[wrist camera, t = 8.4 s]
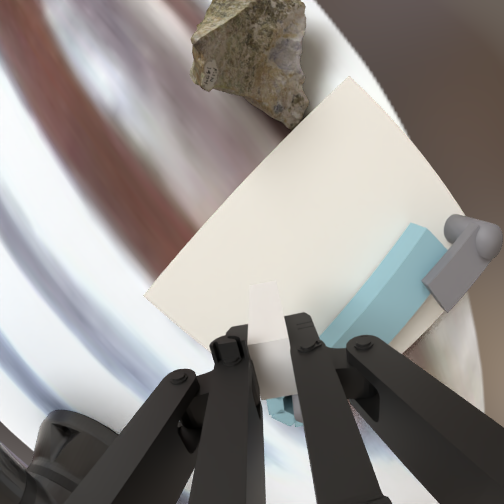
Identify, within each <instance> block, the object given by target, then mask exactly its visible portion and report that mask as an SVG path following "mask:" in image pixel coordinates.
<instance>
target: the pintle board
mask: <svg viewBox="0 0 504 504" xmlns="http://www.w3.org/2000/svg"><path fill="white" fill-rule="evenodd" d="M410 223H414V224H417V225H420V226H422V227H425V228H427V229H428V230H429V231H430V232H431V233H432V234H433V235H434V236H435V237H436V238H437V239H438V240H439V241H440V242H441V243H442V244H443V246H444V247H445V248H446V249H447V252H446V253H445V254H444V255H443V256H442V258H441V259H440V260H439V261H438V262H437V263H436V264H435V266H434V267H433V268H432V269H431V270H430V271H429V272H428V273H427V275H426V276H425V277H424V278H423V279H422V280H421V281H422V283H423V284H424V285H425V287H426V288H427V289H428V291H429V292H430V295H429V296H428V297H427V299H426V300H425V301H424V302H423V304H422V305H421V306H420V308H419V309H418V310H417V311H416V312H415V314H414V315H413V316H412V317H411V319H410V320H409V321H408V322H407V323H406V325H405V326H404V327H403V328H402V329H401V330H400V332H399V333H398V334H397V335H396V336H395V337H394V338H393V339H392V341H391V342H390V343H389V344H388V345H390V346H391V347H392V348H394V349H395V350H397V351H398V352H399V353H401V354H402V353H403V352H404V351H405V350H406V349H407V348H409V347H410V346H411V345H412V344H413V343H414V342H415V341H416V340H417V339H418V338H419V337H420V336H421V335H422V334H423V333H424V332H425V331H426V330H427V329H428V328H429V327H430V326H431V325H432V324H433V323H434V322H435V321H436V320H437V319H438V318H439V317H440V315H441V314H442V313H443V312H444V311H446V312H447V313H448V312H449V311H450V310H451V309H452V308H453V307H454V306H455V304H456V303H457V302H458V301H459V300H460V299H461V298H462V296H463V295H464V294H465V293H466V292H467V291H468V289H469V288H470V287H471V286H472V285H473V283H474V282H475V281H476V280H477V278H478V277H479V276H480V275H481V273H482V272H483V271H484V269H485V268H486V267H487V266H488V264H489V263H490V262H491V260H492V259H493V258H495V257H496V256H497V255H498V253H499V252H500V250H501V247H502V242H503V235H502V231H501V229H500V227H499V226H498V225H495V224H492V223H489V222H485V221H481V220H478V219H474V218H470V217H466V216H465V215H464V213H463V211H462V210H461V208H460V207H459V205H458V204H457V202H456V201H455V199H454V198H453V196H452V195H451V193H450V192H449V190H448V189H447V188H446V186H445V185H444V184H443V182H442V180H441V179H440V178H439V176H438V175H437V174H436V172H435V171H434V170H433V168H432V167H431V166H430V164H429V163H428V162H427V160H426V159H425V158H424V157H423V155H422V154H421V153H420V151H419V150H418V149H417V148H416V147H415V145H414V144H413V143H412V142H411V140H410V139H409V138H408V137H407V136H406V134H405V133H404V132H403V131H402V130H401V129H400V128H399V126H398V125H397V124H396V123H395V122H394V121H393V120H392V119H391V117H390V116H389V115H388V114H387V113H386V112H385V111H384V110H383V109H382V108H381V107H380V106H379V105H378V104H377V103H376V102H375V101H374V99H373V98H372V97H371V96H370V95H369V94H368V93H367V92H366V91H365V90H364V89H362V88H361V87H360V86H359V85H358V84H357V83H356V82H355V81H354V80H353V79H352V78H351V77H350V76H348V77H347V78H346V79H345V80H344V81H343V82H342V83H341V84H340V85H339V86H338V87H337V88H336V89H335V90H334V91H332V92H331V93H330V94H329V95H328V96H327V97H326V98H325V99H324V100H323V101H322V102H321V103H320V104H319V105H318V106H317V107H316V108H315V109H314V110H313V111H312V112H311V113H310V114H309V115H308V116H307V117H306V118H305V119H304V120H303V121H302V122H301V123H300V124H299V125H298V126H297V127H296V128H295V129H294V130H293V131H292V132H291V133H290V134H289V135H288V136H287V137H286V138H285V139H284V140H283V141H282V142H281V143H280V144H279V145H278V146H277V147H276V148H275V149H274V150H273V151H272V152H271V153H270V154H269V155H268V156H267V157H266V158H265V159H264V160H263V161H262V162H261V163H260V164H259V165H258V166H257V168H256V169H255V170H254V171H253V172H252V173H251V174H250V175H249V176H248V177H247V178H246V179H245V180H244V181H243V182H242V183H241V185H240V186H239V187H238V188H237V189H236V190H235V191H234V192H233V193H232V194H231V195H230V196H229V197H228V199H227V200H226V201H225V202H224V203H223V204H222V205H221V206H220V207H219V208H218V210H217V211H216V212H215V213H214V214H213V215H212V216H211V217H210V218H209V220H208V221H207V222H206V223H205V224H204V225H203V226H202V227H201V229H200V230H199V231H198V232H197V233H196V234H195V235H194V236H193V238H192V239H191V240H190V241H189V242H188V243H187V245H186V246H185V247H184V248H183V249H182V250H181V251H180V253H179V254H178V255H177V256H176V257H175V258H174V260H173V261H172V262H171V263H170V264H169V265H168V267H167V268H166V269H165V270H164V271H163V273H162V274H161V275H160V276H159V277H158V279H157V280H156V281H155V282H154V283H153V285H152V286H151V287H150V288H149V289H148V291H147V292H146V293H145V294H144V295H143V296H144V297H145V298H146V299H147V300H148V301H150V302H151V303H152V304H153V305H154V306H155V307H156V308H157V309H159V310H160V311H161V312H162V313H163V314H164V315H166V316H167V317H168V318H169V319H170V320H171V321H173V322H174V323H175V324H176V325H177V326H178V327H180V328H181V329H182V330H183V331H184V332H186V333H187V334H188V335H189V336H191V337H192V338H193V339H194V340H195V341H197V342H198V343H199V344H200V345H202V346H203V347H204V348H205V349H207V350H208V351H209V352H211V350H210V347H209V345H210V343H211V342H212V341H213V340H215V339H216V338H219V337H221V336H224V335H226V332H227V331H228V330H229V329H230V328H231V327H233V326H238V325H244V324H248V314H249V289H250V285H254V284H259V283H264V282H269V281H274V280H276V282H277V287H278V291H279V296H280V300H281V305H282V309H283V314H284V316H288V315H292V314H297V313H302V312H305V313H307V314H308V315H310V316H311V318H312V321H313V323H314V326H315V328H316V331H317V333H318V336H320V335H321V334H322V333H323V332H324V331H325V330H326V328H327V327H328V326H329V325H330V324H331V323H332V322H333V321H334V319H335V318H336V317H337V316H338V315H339V314H340V312H341V311H342V310H343V309H344V308H345V307H346V305H347V304H348V303H349V302H350V301H351V299H352V298H353V297H354V296H355V295H356V293H357V292H358V291H359V290H360V289H361V287H362V286H363V285H364V284H365V282H366V281H367V280H368V279H369V277H370V276H371V275H372V274H373V272H374V271H375V270H376V268H377V267H378V266H379V265H380V263H381V262H382V261H383V259H384V258H385V257H386V255H387V254H388V253H389V251H390V250H391V249H392V247H393V246H394V245H395V243H396V242H397V241H398V239H399V238H400V237H401V235H402V234H403V232H404V231H405V230H406V228H407V227H408V225H409V224H410ZM292 401H293V410H294V418H295V419H296V421H298V422H301V423H303V421H302V415H301V411H300V405H299V399H298V394H294V395H292Z"/></svg>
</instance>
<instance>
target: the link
mask: <svg viewBox="0 0 504 504" xmlns="http://www.w3.org/2000/svg"><path fill="white" fill-rule="evenodd" d="M446 252H447V249H446V248H445V247H444V246H443V244H442V243H441V242H440V241H439V240H438V239H437V238H436V237H435V236H434V235H433V234H432V233H431V232H430V231H429V230H428V229H427V228H425V227H422V226H420V225H417V224H414V223H410V224H409V225H408V227H407V228H406V230H405V231H404V232H403V234H402V235H401V237H400V238H399V239H398V241H397V242H396V243H395V245H394V246H393V247H392V249H391V250H390V251H389V253H388V254H387V255H386V257H385V258H384V259H383V261H382V262H381V263H380V265H379V266H378V267H377V268H376V270H375V271H374V272H373V274H372V275H371V276H370V277H369V279H368V280H367V281H366V282H365V284H364V285H363V286H362V287H361V289H360V290H359V291H358V292H357V293H356V295H355V296H354V297H353V298H352V299H351V301H350V302H349V303H348V304H347V305H346V307H345V308H344V309H343V310H342V311H341V312H340V314H339V315H338V316H337V317H336V318H335V319H334V321H333V322H332V323H331V324H330V325H329V326H328V327H327V328H326V330H325V331H324V332H323V333H322V334H321V335H320V336H319V338H320V340H322V341H323V342H324V343H325V345H326V346H327V347H330V348H346V344H347V342H348V341H349V340H350V339H352V338H354V337H357V336H360V335H373V336H376V337H378V338H380V339H381V340H383V341H384V342H385V343H387V344H389V343H390V342H391V341H392V339H393V338H394V337H395V336H396V335H397V334H398V333H399V332H400V330H401V329H402V328H403V327H404V326H405V325H406V323H407V322H408V321H409V320H410V319H411V317H412V316H413V315H414V314H415V312H416V311H417V310H418V309H419V308H420V306H421V305H422V304H423V302H424V301H425V300H426V299H427V297H428V296H429V295H430V292H429V291H428V289H427V288H426V287H425V285H424V284H423V283H422V281H421V280H422V279H423V278H424V277H425V276H426V275H427V273H428V272H429V271H430V270H431V269H432V268H433V267H434V266H435V264H436V263H437V262H438V261H439V260H440V259H441V258H442V256H443V255H444V254H445V253H446ZM266 400H267V406H268V411H269V415H272V418H273V419H276V420H278V421H280V422H282V423H284V424H286V425H288V426H292V425H293V424H294V423H295V427H299V426H303V423H301V422H298V421H296V419H295V418H294V410H293V401H292V395H289V396H284V397H278V398H272V399H266Z"/></svg>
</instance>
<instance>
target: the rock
mask: <svg viewBox="0 0 504 504" xmlns="http://www.w3.org/2000/svg"><path fill="white" fill-rule="evenodd" d="M305 7H306V6H305V4H304V3H303V2H301V0H212V3H211V5H210V7H209V8H208V9H207V11H206V15H205V18H204V20H203V21H202V22H201V23H200V24H198V25H197V31H196V32H195V33H194V34H193V36H192V37H191V42H192V44H193V50H192V53H193V58H194V61H193V64H192V68H191V70H190V77H191V79H192V81H193V82H194V83H195V84H197V85H200V87H201V88H202V89H204V90H206V91H208V92H210V91H211V90H212V89H216V90H219V91H223V92H226V93H229V94H233V95H239V96H243V97H244V98H245V99H246V100H247V101H248V102H250V103H251V104H252V105H253V106H255V107H257V108H259V109H260V110H262V111H264V112H265V113H266V114H267V115H269V116H270V117H272V118H274V119H275V120H278V121H281V122H283V123H284V125H285V126H286V127H287V128H289V129H291V130H294V129H295V128H296V127H297V126H298V124H299V122H300V121H301V120H302V118H303V114H304V112H305V110H306V108H307V107H308V105H309V101H308V99H307V97H306V95H305V93H304V92H303V90H302V84H303V83H304V82H305V78H306V77H305V75H304V73H303V71H302V69H301V66H300V60H301V59H300V55H301V54H302V38H303V36H304V34H305V28H306V16H305V14H304V12H305Z"/></svg>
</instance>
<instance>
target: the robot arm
mask: <svg viewBox="0 0 504 504" xmlns="http://www.w3.org/2000/svg"><path fill="white" fill-rule="evenodd" d="M209 347H210V350H211V353H212V357H213V360H214V363H215V366H214V370H212V371H210V372H208V373H205V374H202V375H199V376H196V374H195V372H194V371H193V370H191V369H178V370H175V371H173V372H171V373H169V374H168V375H167V376H165V377H164V379H163V380H162V381H161V382H160V384H159V385H158V386H157V387H156V389H155V390H154V391H153V392H152V394H151V395H150V396H149V398H148V399H147V400H146V401H145V403H144V404H143V405H142V406H141V408H140V409H139V410H138V411H137V413H136V414H135V415H134V416H133V418H132V419H131V420H130V422H129V423H128V424H127V425H126V427H125V428H124V429H123V430H122V432H121V433H120V434H119V435H117V434H116V433H114V432H113V431H111V430H110V429H108V428H107V427H105V426H104V425H102V424H100V423H98V422H96V421H95V420H93V419H91V418H88V417H86V416H84V415H81V414H78V413H75V412H72V411H67V410H55V411H52V412H51V413H50V414H49V415H48V416H47V417H46V418H45V420H44V421H43V422H42V424H41V426H40V429H39V433H38V437H37V441H36V445H35V450H34V454H33V459H32V462H31V463H30V465H29V467H28V468H27V470H25V469H24V468H23V467H22V466H21V465H20V464H19V463H18V462H17V461H16V460H15V458H14V457H13V456H12V455H11V454H10V453H9V452H8V451H7V450H6V449H5V448H4V446H3V445H2V444H1V443H0V504H176V503H177V501H178V499H179V497H180V495H181V493H182V491H183V489H184V487H185V485H186V483H187V482H188V480H189V478H190V476H191V474H192V472H193V470H194V468H195V470H194V475H193V481H192V486H191V492H190V498H189V503H188V504H266V494H265V465H264V438H263V411H262V405H261V401H260V396H261V400H266V399H272V398H278V397H284V396H289V395H294V394H298V399H299V405H300V411H301V415H302V421H303V426H304V432H305V438H306V443H307V449H308V454H309V460H310V466H311V472H312V478H313V483H314V489H315V495H316V501H317V504H392V502H391V500H390V499H389V498H388V497H386V496H384V495H383V494H382V492H381V490H380V487H379V484H378V481H377V478H376V475H375V473H374V470H373V467H372V464H371V462H370V459H369V456H368V453H367V451H366V448H365V445H364V443H363V440H362V437H361V434H360V432H359V429H358V427H357V424H356V421H355V419H354V416H353V413H352V411H351V408H350V406H349V403H348V400H347V399H349V401H350V403H351V405H352V406H353V407H354V408H355V409H356V410H357V412H358V413H359V414H360V415H361V416H362V417H363V419H364V420H365V421H366V422H367V423H368V424H369V425H370V427H371V428H372V429H373V430H374V431H375V432H376V433H377V435H378V436H379V437H380V438H381V439H382V440H383V441H384V443H385V444H386V445H387V446H388V447H389V448H390V449H391V450H392V452H393V453H394V454H395V455H396V456H397V457H398V458H399V459H400V461H401V462H402V463H403V464H404V465H405V466H406V467H407V468H408V469H409V471H410V472H411V473H412V474H413V475H414V476H415V477H416V478H417V479H418V481H419V482H420V483H421V484H422V485H423V486H424V487H425V488H426V489H427V490H428V492H429V493H430V494H431V495H432V496H433V497H434V498H435V499H436V500H437V501H438V502H439V503H440V504H504V428H503V427H502V426H501V425H499V424H498V423H496V422H495V421H494V420H492V419H491V418H490V417H488V416H487V415H486V414H484V413H483V412H481V411H480V410H479V409H477V408H476V407H474V406H473V405H472V404H470V403H469V402H468V401H466V400H465V399H463V398H462V397H461V396H459V395H458V394H456V393H455V392H454V391H452V390H451V389H450V388H448V387H447V386H445V385H444V384H443V383H441V382H440V381H438V380H437V379H436V378H434V377H433V376H431V375H430V374H429V373H427V372H426V371H424V370H423V369H422V368H420V367H419V366H418V365H416V364H415V363H413V362H412V361H411V360H409V359H408V358H406V357H405V356H404V355H402V354H401V353H399V352H398V351H397V350H395V349H394V348H392V347H391V346H390V345H388V344H387V343H385V342H384V341H383V340H381V339H380V338H378V337H376V336H373V335H360V336H357V337H354V338H352V339H350V340H349V341H348V342H347V344H346V348H330V347H327V346H326V345H325V343H324V342H323V341H322V340H320V338H319V336H318V333H317V331H316V328H315V326H314V323H313V321H312V318H311V316H310V315H308V314H307V313H305V312H302V313H297V314H292V315H288V316H284V314H283V309H282V305H281V300H280V296H279V291H278V287H277V282H276V280H274V281H269V282H264V283H259V284H254V285H250V289H249V314H248V324H244V325H238V326H233V327H231V328H230V329H229V330H228V331H227V332H226V335H224V336H221V337H219V338H216V339H215V340H213V341H212V342H211V343H210V345H209Z"/></svg>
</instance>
